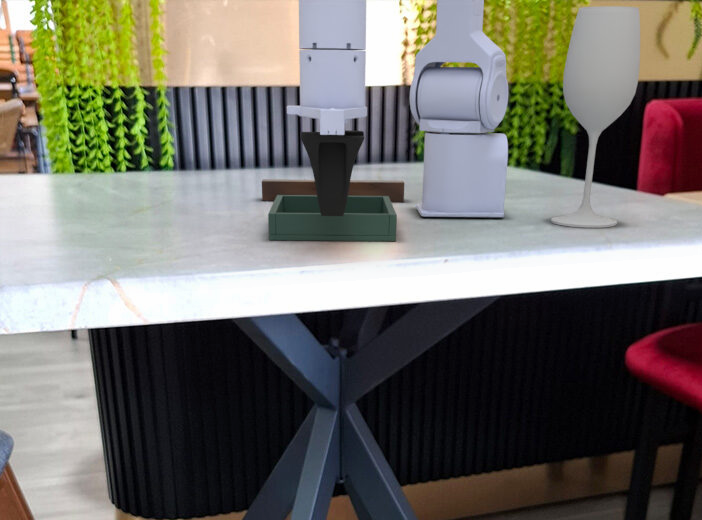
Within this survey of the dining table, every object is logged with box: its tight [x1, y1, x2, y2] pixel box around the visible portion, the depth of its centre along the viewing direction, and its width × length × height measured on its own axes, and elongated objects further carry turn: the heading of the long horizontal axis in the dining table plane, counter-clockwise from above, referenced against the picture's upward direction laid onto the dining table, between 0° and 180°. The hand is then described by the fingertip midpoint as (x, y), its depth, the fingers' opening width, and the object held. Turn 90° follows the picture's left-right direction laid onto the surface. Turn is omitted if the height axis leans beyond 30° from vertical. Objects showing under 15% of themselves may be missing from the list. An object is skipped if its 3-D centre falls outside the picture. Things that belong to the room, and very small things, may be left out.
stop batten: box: [261, 178, 405, 203], centre depth 114 cm, size 18×2×2 cm, turn 91°
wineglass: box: [550, 5, 641, 229], centre depth 95 cm, size 8×8×21 cm
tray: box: [267, 195, 398, 242], centre depth 93 cm, size 12×14×2 cm
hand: (332, 215), depth 83 cm, fingers closed
